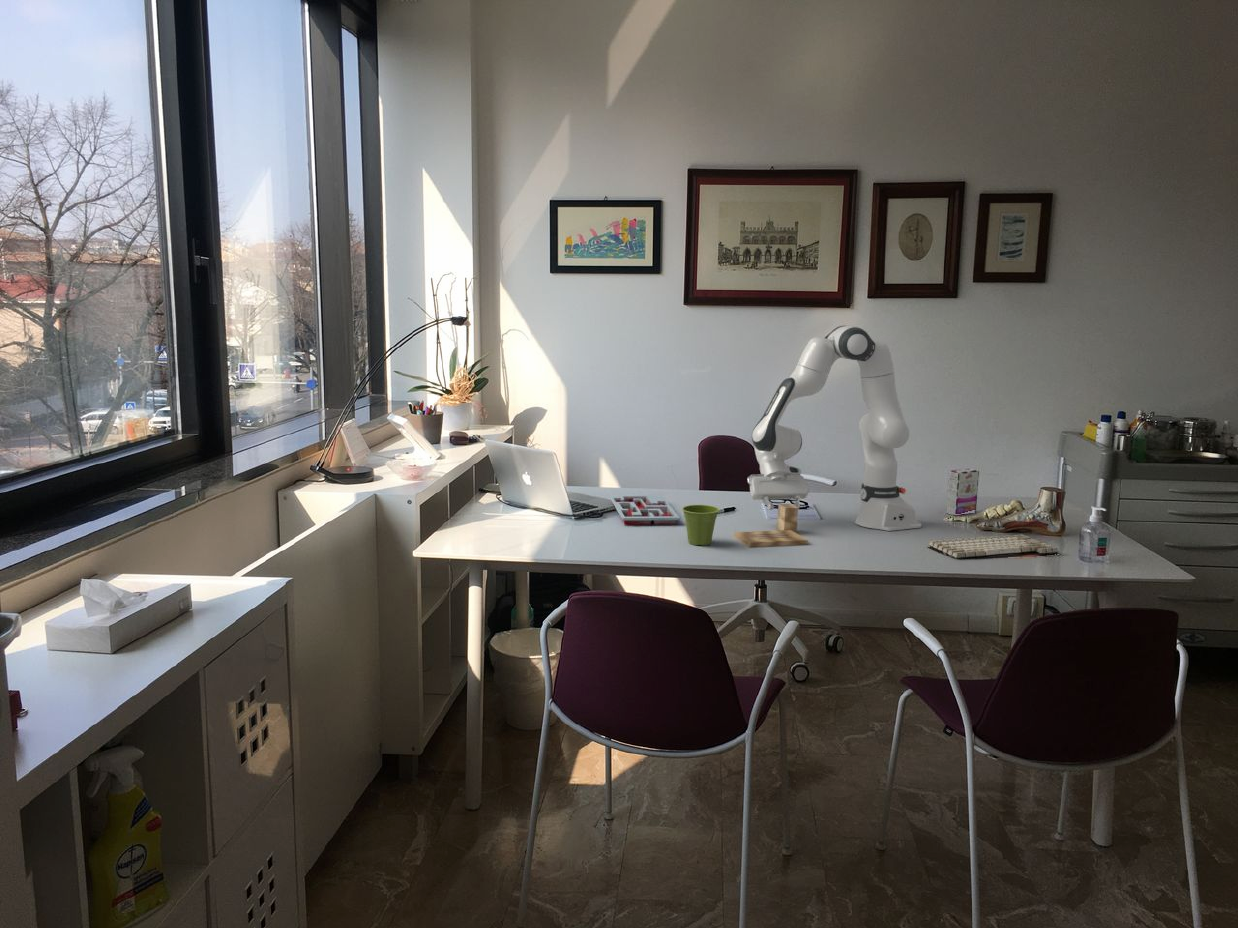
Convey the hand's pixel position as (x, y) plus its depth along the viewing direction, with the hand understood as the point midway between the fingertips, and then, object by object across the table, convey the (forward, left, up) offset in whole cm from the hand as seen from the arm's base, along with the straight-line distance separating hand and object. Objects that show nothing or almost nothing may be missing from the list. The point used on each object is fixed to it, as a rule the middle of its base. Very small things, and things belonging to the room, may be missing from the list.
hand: (784, 508), depth 325 cm
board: (+10, +12, -8) cm, 17 cm away
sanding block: (0, +2, -8) cm, 8 cm away
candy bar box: (-77, -13, -8) cm, 79 cm away
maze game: (+40, -30, -8) cm, 51 cm away
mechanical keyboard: (-56, +35, -8) cm, 67 cm away
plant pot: (+34, +11, -8) cm, 36 cm away
